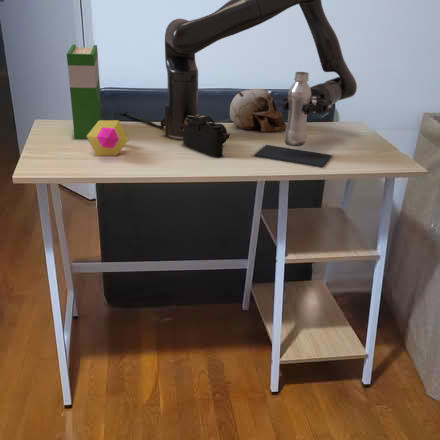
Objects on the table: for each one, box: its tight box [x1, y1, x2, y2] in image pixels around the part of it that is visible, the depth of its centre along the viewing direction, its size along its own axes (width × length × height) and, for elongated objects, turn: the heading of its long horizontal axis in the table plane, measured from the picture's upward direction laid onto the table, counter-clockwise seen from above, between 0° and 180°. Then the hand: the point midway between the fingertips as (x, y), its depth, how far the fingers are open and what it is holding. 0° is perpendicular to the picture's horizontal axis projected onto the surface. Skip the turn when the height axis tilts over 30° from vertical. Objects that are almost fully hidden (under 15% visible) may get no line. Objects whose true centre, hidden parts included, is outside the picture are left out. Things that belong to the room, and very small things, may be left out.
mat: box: [254, 144, 332, 168], centre depth 163 cm, size 20×11×1 cm, turn 68°
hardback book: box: [66, 44, 103, 140], centre depth 171 cm, size 18×7×24 cm, turn 8°
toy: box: [87, 119, 130, 157], centre depth 157 cm, size 10×18×10 cm, turn 11°
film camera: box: [180, 113, 231, 158], centre depth 164 cm, size 18×12×10 cm
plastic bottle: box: [283, 71, 311, 147], centre depth 157 cm, size 6×7×20 cm
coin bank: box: [229, 88, 287, 133], centre depth 186 cm, size 16×17×13 cm
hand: (295, 108), depth 154 cm, fingers closed on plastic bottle, 6 cm apart
